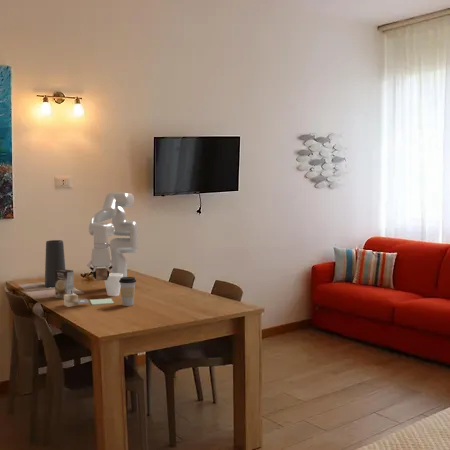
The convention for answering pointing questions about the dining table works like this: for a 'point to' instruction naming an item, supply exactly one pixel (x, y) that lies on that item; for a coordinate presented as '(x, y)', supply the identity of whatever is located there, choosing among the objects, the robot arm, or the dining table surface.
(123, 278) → the coffee cup
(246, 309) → the dining table surface
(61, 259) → the vase
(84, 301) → the tile
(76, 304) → the maple block
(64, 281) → the coffee box
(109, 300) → the mat
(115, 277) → the cup
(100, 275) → the walnut block
